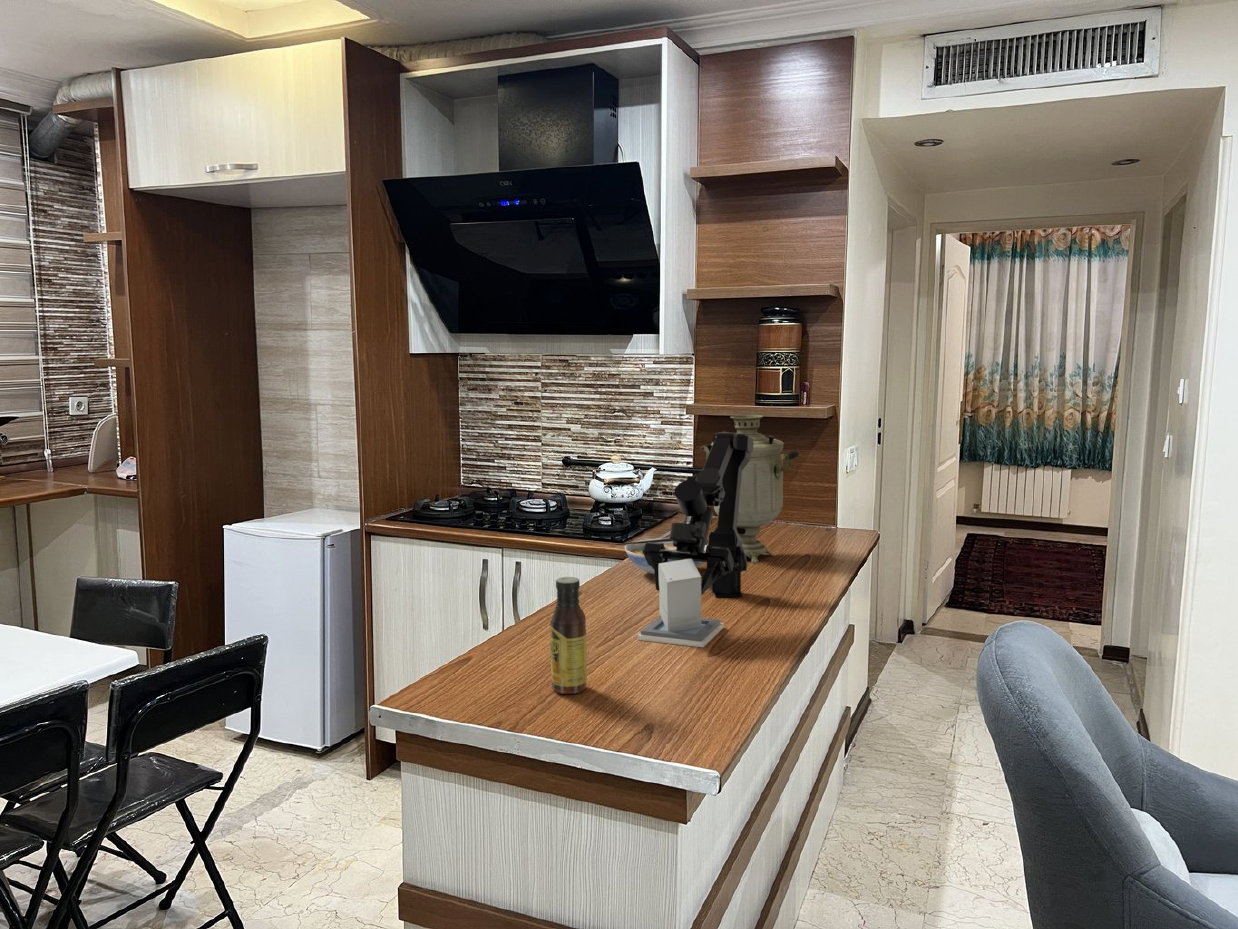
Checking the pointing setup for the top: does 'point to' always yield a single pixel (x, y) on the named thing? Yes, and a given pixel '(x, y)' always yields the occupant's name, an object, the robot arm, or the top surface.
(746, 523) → the samovar
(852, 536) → the top surface
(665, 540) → the ramen bowl
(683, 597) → the supplement box
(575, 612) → the sauce bottle
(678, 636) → the grey square tray
